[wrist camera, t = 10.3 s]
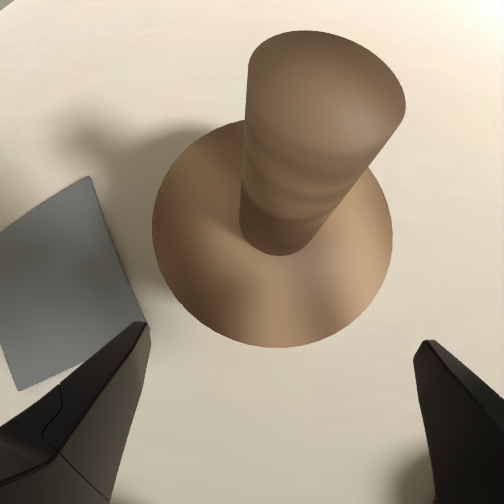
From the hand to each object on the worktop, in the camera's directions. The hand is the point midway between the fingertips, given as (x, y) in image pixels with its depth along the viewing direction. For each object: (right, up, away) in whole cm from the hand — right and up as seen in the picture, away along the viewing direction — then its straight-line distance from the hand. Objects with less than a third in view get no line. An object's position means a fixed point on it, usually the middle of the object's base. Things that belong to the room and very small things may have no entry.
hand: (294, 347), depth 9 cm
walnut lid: (0, +4, +8) cm, 9 cm away
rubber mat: (-17, 0, +11) cm, 20 cm away
